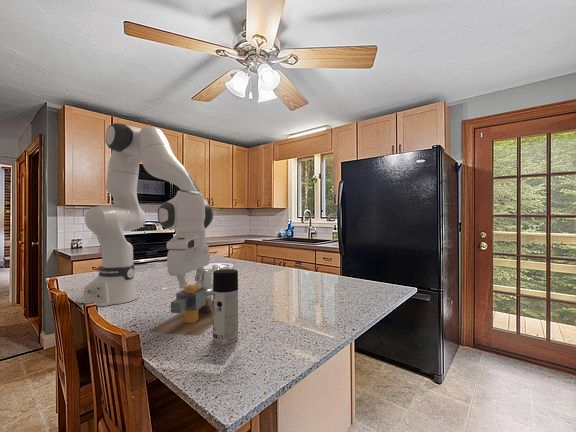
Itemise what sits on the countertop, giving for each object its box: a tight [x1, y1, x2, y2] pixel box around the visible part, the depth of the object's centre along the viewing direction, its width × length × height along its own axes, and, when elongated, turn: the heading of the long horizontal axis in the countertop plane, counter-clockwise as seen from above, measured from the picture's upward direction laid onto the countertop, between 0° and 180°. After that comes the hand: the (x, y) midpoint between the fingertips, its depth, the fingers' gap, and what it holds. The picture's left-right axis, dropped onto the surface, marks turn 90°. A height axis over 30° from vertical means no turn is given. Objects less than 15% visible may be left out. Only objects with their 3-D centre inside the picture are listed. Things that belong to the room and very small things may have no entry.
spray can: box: [212, 268, 239, 346], centre depth 80 cm, size 7×7×20 cm
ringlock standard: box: [170, 268, 213, 314], centre depth 97 cm, size 11×24×14 cm, turn 170°
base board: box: [148, 304, 213, 337], centre depth 97 cm, size 16×26×2 cm, turn 170°
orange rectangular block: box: [183, 284, 198, 323], centre depth 94 cm, size 3×3×11 cm
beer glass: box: [211, 263, 230, 285], centre depth 117 cm, size 7×7×15 cm
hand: (191, 284), depth 94 cm, fingers open, 8 cm apart
